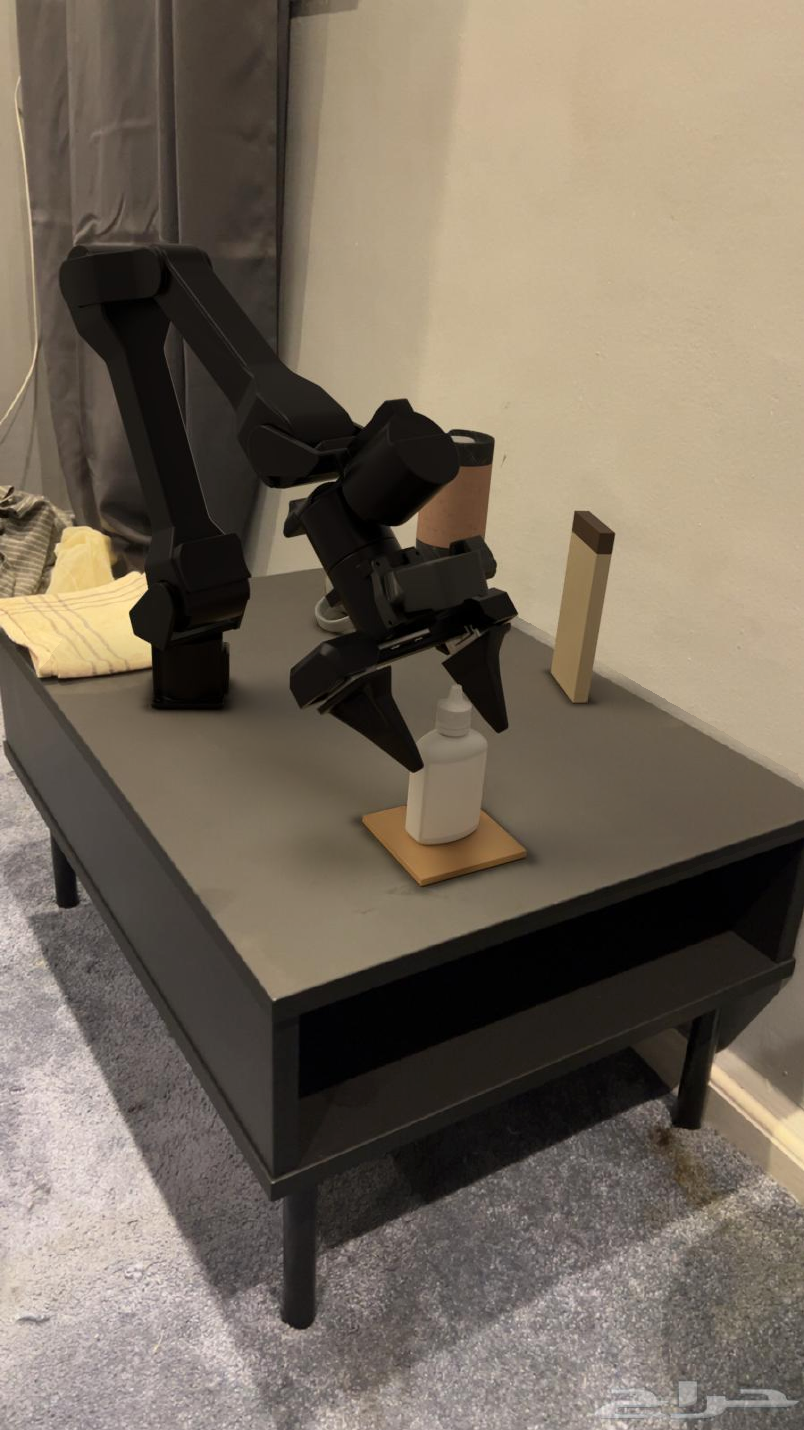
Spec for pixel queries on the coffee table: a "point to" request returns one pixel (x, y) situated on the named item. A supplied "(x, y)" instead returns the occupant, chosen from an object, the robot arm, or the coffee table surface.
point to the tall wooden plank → (582, 604)
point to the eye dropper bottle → (447, 776)
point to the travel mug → (459, 498)
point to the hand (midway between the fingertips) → (462, 749)
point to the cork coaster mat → (443, 847)
